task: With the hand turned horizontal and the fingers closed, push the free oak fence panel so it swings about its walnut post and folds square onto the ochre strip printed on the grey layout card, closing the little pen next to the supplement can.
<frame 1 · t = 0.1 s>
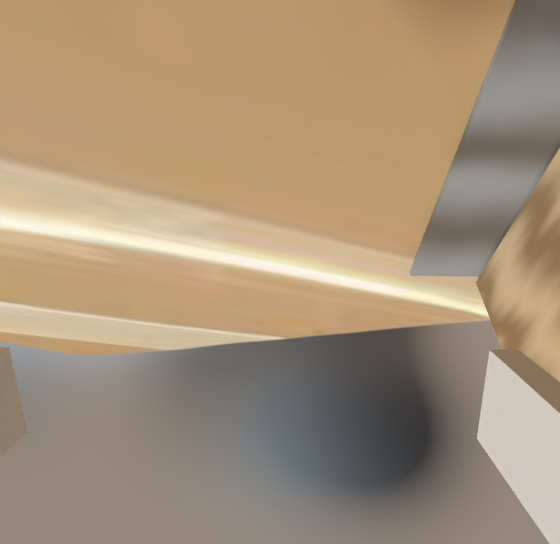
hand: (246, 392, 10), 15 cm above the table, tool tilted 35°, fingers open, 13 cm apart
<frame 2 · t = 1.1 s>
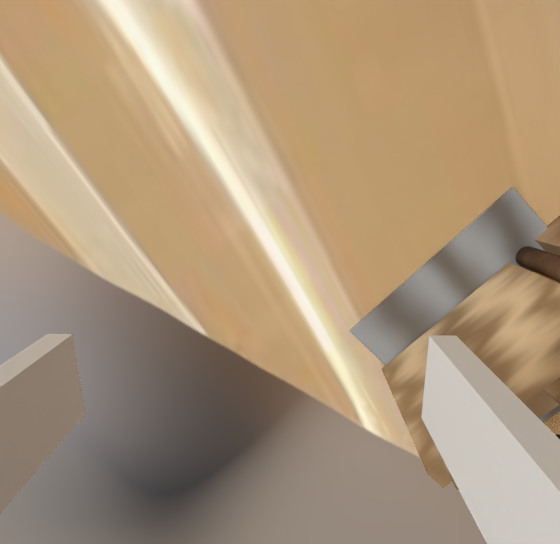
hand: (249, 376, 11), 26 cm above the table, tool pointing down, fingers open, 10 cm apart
fence base: (524, 255, 36), on the table
fence panel: (487, 362, 30), point 9 cm above the table, hinge at 0.0°
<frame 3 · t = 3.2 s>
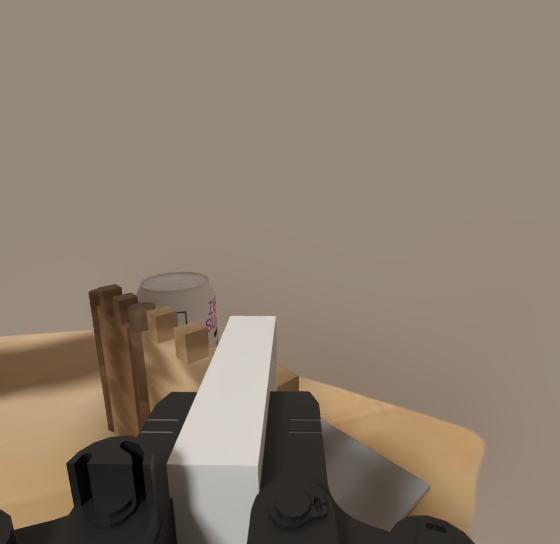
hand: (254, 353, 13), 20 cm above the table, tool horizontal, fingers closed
supplement can: (185, 406, 44), on the table
fence base: (159, 476, 33), on the table
fence panel: (215, 450, 24), point 9 cm above the table, hinge at 0.0°
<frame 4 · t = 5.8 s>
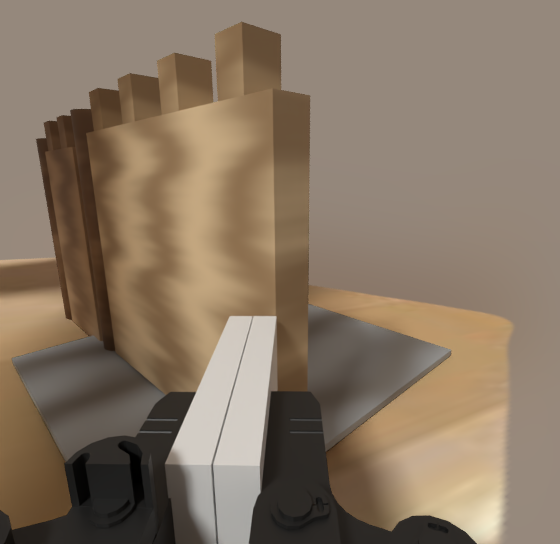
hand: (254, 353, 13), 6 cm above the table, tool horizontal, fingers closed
fence base: (119, 349, 27), on the table
fence panel: (175, 251, 18), point 9 cm above the table, hinge at 0.4°, touching gripper
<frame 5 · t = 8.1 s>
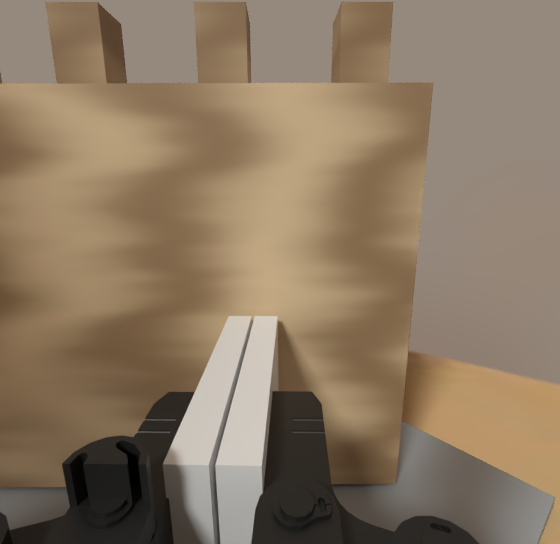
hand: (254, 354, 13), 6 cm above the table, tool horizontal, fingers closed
fence panel: (175, 278, 13), point 9 cm above the table, hinge at 46.5°, touching gripper
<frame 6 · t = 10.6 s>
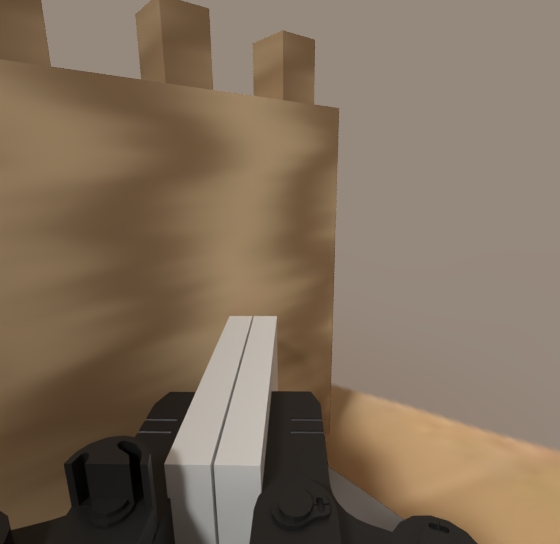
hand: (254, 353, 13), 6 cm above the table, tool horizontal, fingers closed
fence panel: (129, 305, 11), point 9 cm above the table, hinge at 86.7°, touching gripper
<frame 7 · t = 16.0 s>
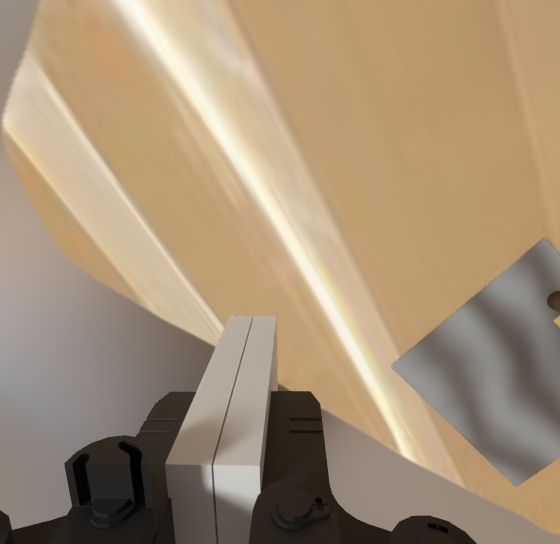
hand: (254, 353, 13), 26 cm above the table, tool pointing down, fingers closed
fence base: (554, 298, 39), on the table
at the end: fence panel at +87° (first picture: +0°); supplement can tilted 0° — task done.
